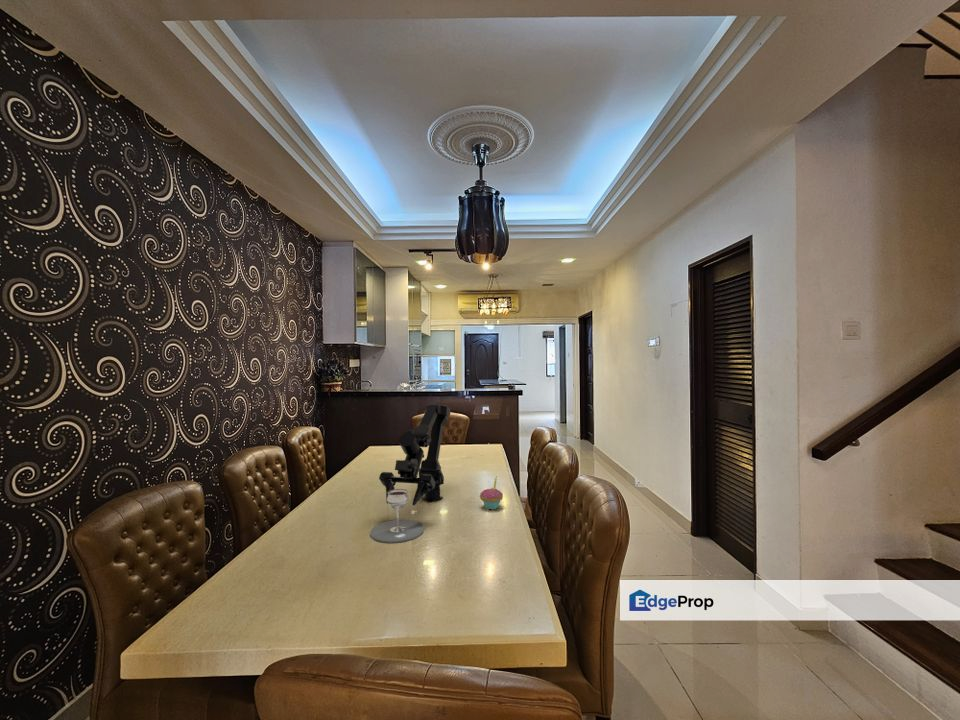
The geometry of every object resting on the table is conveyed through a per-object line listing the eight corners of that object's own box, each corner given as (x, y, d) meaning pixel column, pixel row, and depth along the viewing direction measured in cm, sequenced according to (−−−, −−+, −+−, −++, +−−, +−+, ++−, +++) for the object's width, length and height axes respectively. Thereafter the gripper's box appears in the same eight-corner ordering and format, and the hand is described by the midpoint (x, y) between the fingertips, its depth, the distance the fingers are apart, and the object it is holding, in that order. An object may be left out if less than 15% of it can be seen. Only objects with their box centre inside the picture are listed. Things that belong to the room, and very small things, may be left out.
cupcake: (503, 504, 160) (503, 473, 160) (502, 512, 151) (502, 479, 151) (481, 504, 160) (480, 472, 161) (478, 512, 152) (478, 479, 152)
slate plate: (361, 531, 136) (361, 528, 136) (406, 517, 147) (406, 515, 147) (387, 548, 123) (387, 545, 123) (434, 532, 134) (434, 529, 134)
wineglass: (396, 535, 130) (396, 496, 130) (382, 530, 134) (382, 492, 134) (412, 528, 136) (412, 491, 136) (398, 523, 140) (398, 487, 140)
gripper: (380, 448, 144) (365, 490, 134) (432, 450, 140) (420, 494, 129) (391, 465, 152) (377, 506, 141) (439, 468, 148) (429, 510, 137)
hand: (400, 504), depth 137 cm, fingers open, 9 cm apart
